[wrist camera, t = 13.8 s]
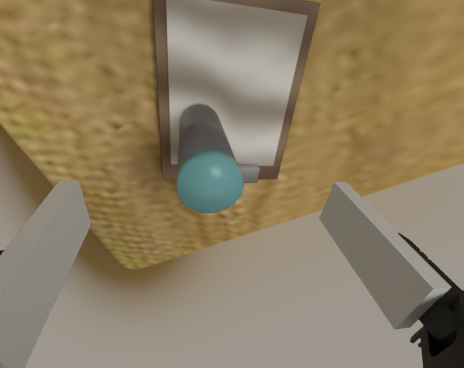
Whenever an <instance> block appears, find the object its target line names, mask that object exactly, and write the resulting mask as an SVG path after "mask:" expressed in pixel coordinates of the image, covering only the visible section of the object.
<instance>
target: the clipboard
mask: <svg viewBox="0 0 464 368" xmlns="http://www.w3.org/2000/svg"><path fill="white" fill-rule="evenodd" d="M153 6H154V25H155V43H156V62H157V81H158V100H159V119H160V137H161V156H162V175H163V179H177V169H178V145H179V122H180V117H181V115H182V113H183V111H184V109H185V108H186V107H187V106H189V105H191V104H193V103H205V104H207V105H209V106H211V107H212V108H213V109H214V111H215V112H216V113H217V115H218V116H219V119H220V121H221V124H222V127H223V129H224V132H225V134H226V137H227V139H228V142H229V144H230V147H231V149H232V152H233V154H234V157H235V159H236V162H237V164H238V167H239V169H240V172H241V174H242V177H243V183H257V180H258V179H277V177H278V173H279V169H280V165H281V161H282V157H283V153H284V149H285V145H286V141H287V136H288V132H289V128H290V124H291V120H292V116H293V112H294V108H295V104H296V100H297V96H298V92H299V88H300V84H301V80H302V76H303V72H304V68H305V63H306V59H307V55H308V51H309V47H310V43H311V39H312V35H313V31H314V27H315V23H316V19H317V15H318V11H319V7H320V3H317V2H311V1H305V0H153Z"/></svg>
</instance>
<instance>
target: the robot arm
mask: <svg viewBox="0 0 464 368" xmlns="http://www.w3.org/2000/svg"><path fill="white" fill-rule="evenodd" d="M320 220H321V222H322V223H323V225H324V226H325V228H326V229H327V231H328V232H329V234H330V235H331V237H332V238H333V239H334V241H335V242H336V244H337V245H338V247H339V248H340V250H341V251H342V253H343V254H344V255H345V257H346V259H347V260H348V262H349V263H350V265H351V266H352V268H353V269H354V271H355V272H356V274H357V275H358V276H359V278H360V279H361V281H362V282H363V284H364V285H365V287H366V288H367V290H368V291H369V292H370V294H371V296H372V297H373V299H374V300H375V301H376V303H377V304H378V306H379V307H380V309H381V310H382V312H383V313H384V315H385V316H386V318H387V319H388V321H389V322H390V324H391V325H392V327H393V328H394V329H401V328H409V327H411V326H412V325H413V324H414V323H415V322H416V321H417V320H418V319H419V320H420V321H421V323H422V324H423V325H424V326H423V327H422V328H421V329H420V330H419V331H418V332H416V333H415V334H414V335H413V336H412V337H411V340H410V342H412V343H414V342H415V341H417V340H418V339H419V338H421V342H420V343H419V344H418V346H419V347H421V348H422V359H423V368H464V291H462V290H461V289H460V288H459V287H458V286H456V284H455V283H454V282H453V281H451V279H449V278H448V277H447V276H446V275H445V274H444V273H443V272H442V271H441V270H440V269H439V268H438V267H437V266H436V265H435V264H434V263H433V262H432V261H431V260H429V259H428V257H427V256H426V255H425V254H424V253H423V252H420V249H419V248H418V247H417V246H416V245H415V244H413V242H411V241H410V240H409V239H407V238H406V237H404V236H403V235H401V234H400V233H397V232H396V231H395V230H394V229H393V228H392V227H391V226H390V225H388V223H387V222H386V221H385V220H383V218H382V217H381V216H380V215H379V214H378V213H377V212H376V211H375V210H374V209H373V208H372V207H371V206H370V205H369V204H368V203H367V202H366V201H365V200H364V199H363V198H362V197H361V196H360V195H359V194H358V193H357V192H356V191H355V190H354V189H353V188H352V187H351V186H350V185H349V184H348V183H347V182H334V184H333V186H332V189H331V191H330V194H329V196H328V198H327V201H326V203H325V206H324V208H323V211H322V213H321V215H320ZM90 226H91V222H90V219H89V215H88V212H87V208H86V205H85V201H84V198H83V194H82V191H81V187H80V183H79V180H60V181H59V182H58V183H57V184H56V186H55V187H54V188H53V190H52V191H51V192H50V193H49V195H48V196H47V197H46V198H45V200H44V201H43V202H42V203H41V205H40V206H39V207H38V209H37V210H36V211H35V212H34V213H33V215H32V216H31V217H30V219H29V220H28V221H27V222H26V224H25V225H24V226H23V227H22V229H21V230H20V231H19V233H18V234H17V235H16V236H15V238H14V239H13V240H12V241H11V243H10V244H9V245H8V246H7V248H6V249H5V250H2V251H0V368H25V366H26V364H27V361H28V359H29V357H30V355H31V353H32V350H33V348H34V346H35V344H36V342H37V340H38V337H39V336H40V333H41V331H42V329H43V327H44V325H45V322H46V320H47V318H48V316H49V314H50V312H51V310H52V308H53V305H54V303H55V301H56V299H57V297H58V295H59V292H60V290H61V288H62V286H63V284H64V282H65V279H66V277H67V275H68V273H69V271H70V269H71V267H72V265H73V262H74V260H75V258H76V256H77V254H78V252H79V249H80V247H81V245H82V243H83V241H84V239H85V237H86V234H87V232H88V230H89V228H90Z"/></svg>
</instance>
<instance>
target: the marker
mask: <svg viewBox="0 0 464 368" xmlns="http://www.w3.org/2000/svg"><path fill="white" fill-rule="evenodd" d="M242 190H243V177H242V174H241V172H240V169H239V167H238V164H237V162H236V159H235V157H234V154H233V152H232V149H231V147H230V144H229V142H228V139H227V137H226V134H225V132H224V129H223V127H222V124H221V121H220V119H219V116H218V115H217V113H216V112H215V111H214V109H213V108H212V107H211V106H209V105H207V104H205V103H193V104H191V105H189V106H187V107H186V108H185V109H184V111H183V113H182V115H181V117H180V122H179V145H178V169H177V193H178V196H179V198H180V200H181V201H182V202H183V203H184V204H185V205H186V206H187V207H188V208H190V209H192V210H194V211H197V212H201V213H215V212H219V211H222V210H225V209H227V208H228V207H230V206H231V205H233V204H234V203H235V202H236V201H237V200H238V198H239V197H240V195H241V193H242Z"/></svg>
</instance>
